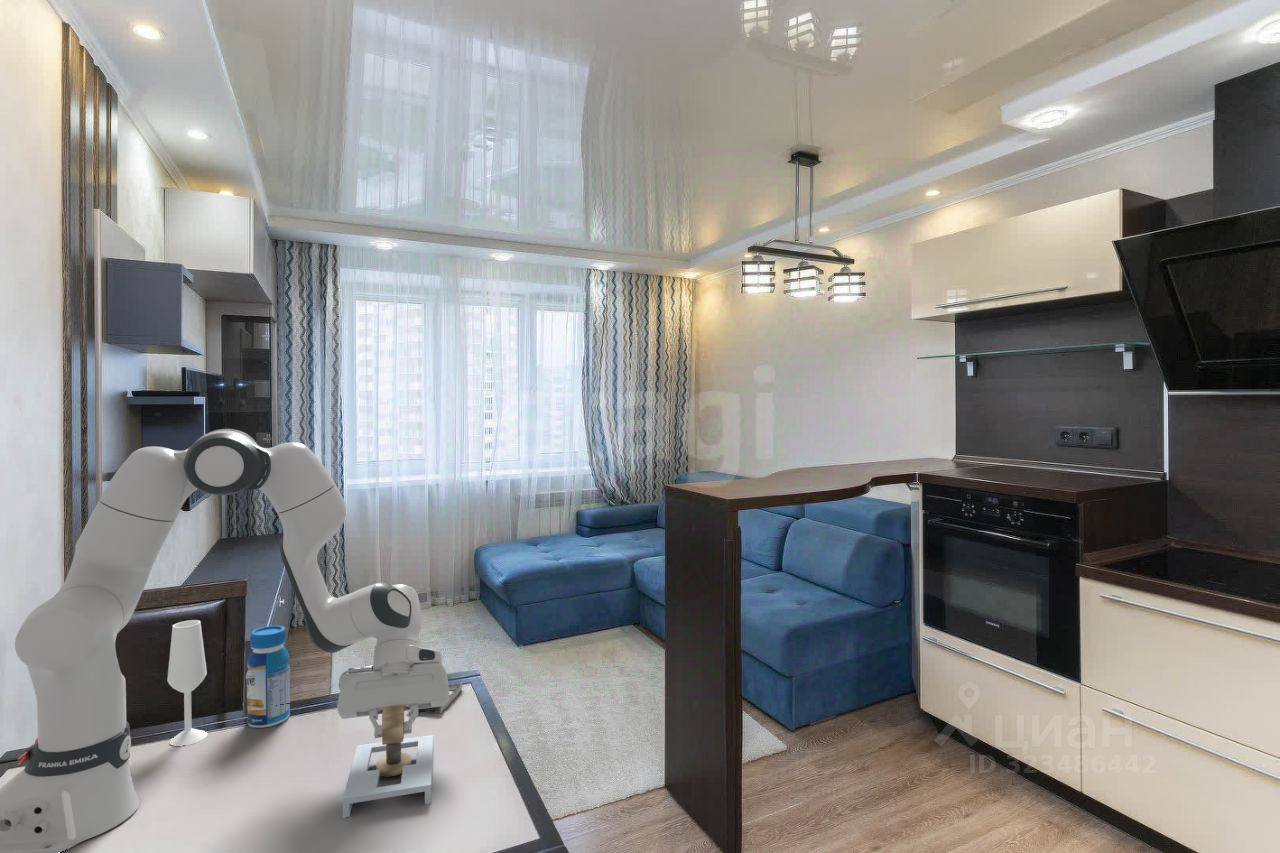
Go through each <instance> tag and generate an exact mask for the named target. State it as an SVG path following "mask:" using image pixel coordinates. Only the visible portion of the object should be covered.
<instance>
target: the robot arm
mask: <svg viewBox="0 0 1280 853" xmlns="http://www.w3.org/2000/svg"><path fill="white" fill-rule="evenodd" d="M197 490H199V491H201V492H203V493H205V494H208V495H214V496H228V495H235V494H239V493H244V492H250V491H256V490H260V491H261V492H262V493H263V494H264V495H265V496H266V498H267V499H268V500H269V502H270V504H271V506H272V507H273V509H274V510H275V512H276V513H277V516H278V517H279V520H280V523H281V526H282V531H283V537H282V538H281V539H280V542H279V551H280V556H281V560H282V562H283V566H284V569H285V571H286V574H287V576H288V578H289V581H290V583H291V586H292V588H293V590H294V593H295V596H296V598H297V601H298V603H299V605H300V609H301V611H302V613H303V617H304V621H305V626H306V632H307V635H308V638H309V640H310V641H311V643H312V644H313V645H314V646H315V647H316V648H318V649H320V650H321V651H324V652H326V653H330V654H333V653H337V652H340V651H341V650H344V649H346V648H348V647H350V646H352V645H354V644H356V643H358V642H361V641H364V640H367V639H370V638H372V637H373V638H375V639H376V642H375V645H374V652H373V662H372V665H367V666H361V667H350V668H348V670H345V671H343V673H341V675H340V676H339V679H338V689H339V695H338V698H337V699H338V700H337V704H336V710H337V714H338V716H339V717H340V718H341V719H343V720H345V719H353V718H359V717H360V718H361V717H369V721H370V724H371V725H372V726H373V729H374V734H373V735H374V739H379V738H382V724H379V723H378V722H377V720H378V719H379V715H382V713H383V708H384V707H390V706H398V705H404V712H408V711H410V717H409V719H408V720H406V721H404V723H403V726H404V728H403V734H404V735H407V734H412V733H413V724H414V723H415V721H416V719H417V717H418V715H419V713H418V709H424V708H432V707H439V706H445V705H446V704H447V703H448V701H449V695H450V690H449V687H448V685H449V680H448V674H447V670H446V667H445V666H444V665H443V656H442V653H441V651H439V650H437V649H431V648H425V647H423V646H421V644H420V643H421V642H420V641H419V640H420V638H419V636H420V635H419V634H420V631H421V626H422V625H421V622H422V618H421V617H422V616H421V615H422V614H421V612H422V611H421V603H420V600H419V595H418V592H417V591H416V590H415V589H414V587H412V586H411V585H410V586H409V585H406V584H401V583H400V584H399V583H397V584H392V585H391V584H389V583H387V582H377V583H373V584H370V585H367V586H365V587H361V588H359V589H357V590H355V591H353V592H351V593H348V594H345V595H343V596H340V597H336V596H335V597H334V596H332V595H331V594H330V592H329V590H328V587H327V585H326V582H325V579H324V576H323V574H322V572H321V569H320V567H319V564H318V556H319V552H320V550H321V549H322V548H323V547H324V546H325V545H326V544H327V543H328V542H329V541H330V540H331V539H332V538H333V537H334V536H335V535H336V534H337V532H338V531H339V530H340V529H341V528H342V526H343V524H344V521H345V519H346V514H347V505H346V501H345V499H344V497H343V495H342V493H341V491H340V490H339V487H338V486H337V484H336V482H335V481H334V479H333V477H332V476H331V474H330V473H329V471H328V470H327V468H326V467H325V465H324V464H323V463H322V461H321V460H320V459H319V458H318V457H317V455H316V454H315V453H314V452H313V451H312V449H311V448H309V447H308V446H307V445H306V444H304V443H301V442H297V441H292V442H291V441H290V442H283V443H280V444H277V445H275V446H273V447H262V446H260V445H259V443H258V442H257V440H256V439H255V438H254V437H253V436H251V435H250V434H249V433H247V432H245V431H243V430H240V429H235V428H222V429H215V430H212V431H209V432H208V433H205V434H203V435H202V436H201V437H199V438H198V439H197V440H195V441H194V443H192V444H190V445H188V446H187V447H186V448H184V449H183V450H176V449H171V448H168V447H164V446H144V447H142V448H141V447H140V448H138V449H136V450H135V451H133V452H131V454H130V455H129V456H128V458H126V460H125V461H124V462H122V464H121V466H120V467H119V468H118V470H117V471H116V472H115V474H114V475H113V477H111V479H110V480H109V482H108V484H107V485H106V487H105V489H104V491H103V492H102V494H101V496H100V498H99V499H98V501H97V504H96V506H95V507H94V509H93V511H92V512H91V514H90V517H89V519H88V520H87V522H86V523H85V524H86V525H85V526H84V528H83V530H82V532H81V533H80V535H79V538H78V540H77V542H76V543H75V547H74V548H75V551H74V554H73V559H72V560H71V561H72V562H71V565H70V568H69V571H68V573H67V576H66V578H65V581H64V583H63V584H62V586H61V587H60V589H59V590H58V591H57V592H56V594H55V595H54V596H53V597H51V598H49V599H48V600H46V601H44V603H42V604H40V605H39V606H37V607H35V609H33V610H32V611H31V612H30V613H29V614H28V616H27V617H26V619H25V620H24V622H23V623H22V624H21V625H20V628H19V630H18V631H17V633H16V636H15V641H14V649H15V652H16V654H17V657H18V659H19V660H20V661H21V662H22V663H23V664H25V665H26V666H27V669H28V673H29V676H30V679H31V683H32V686H33V690H34V693H35V700H36V708H37V709H36V710H37V738H36V739H35V741H34V743H33V744H32V745H30V746H29V747H28V748H26V749H25V752H24V753H23V754H22V755H20V756H19V757H18V758H17V761H19V762H18V763H17V766H20V765H22V764H23V763H25V767H24V768H23V769H22V770H21V771H19V772H18V773H17V774H16V775H14V776H13V777H12V778H11V779H9V780H8V781H6V783H4V784H3V785H2V786H0V853H58V852H62V851H64V852H65V850H66V849H67V850H69V849H71V848H72V847H74V846H76V845H78V844H81V843H83V842H84V841H86V840H90V839H91V838H94V837H97V836H99V835H101V834H103V833H105V832H108V831H109V830H111V829H113V828H115V827H116V826H118V825H120V824H121V823H124V822H125V821H126V820H127V819H128V818H130V817H131V816H132V815H133V814H134V813H135V812H136V811H137V810H138V808H139V806H140V803H141V800H140V797H139V796H138V793H137V790H136V788H135V784H134V780H133V777H132V772H131V767H130V766H131V765H130V757H131V748H132V739H131V730H130V722H128V721H127V687H126V686H127V684H126V683H127V682H126V677H125V675H123V673H122V671H121V668H120V664H119V659H118V657H117V651H116V640H117V635H118V633H120V632H121V630H122V629H124V628H125V627H126V625H127V624H128V623H129V622H130V620H131V618H133V614H134V612H135V611H136V608H137V606H138V603H139V602H140V599H141V596H142V594H143V592H144V590H145V587H146V584H147V582H148V580H149V576H150V574H151V571H152V568H153V566H154V564H155V562H156V559H157V557H158V555H159V554H160V552H161V549H162V547H163V545H164V543H165V541H166V540H167V537H168V535H169V533H170V531H171V530H172V528H173V526H174V524H175V522H176V519H177V517H178V516H179V514H180V512H181V509H182V507H183V505H184V504H185V502H186V500H187V499H188V497H190V495H192V494H193V493H194V492H195V491H197ZM67 850H66V851H67ZM62 853H63V852H62Z"/></svg>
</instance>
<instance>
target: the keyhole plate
mask: <svg viewBox="0 0 1280 853" xmlns="http://www.w3.org/2000/svg"><path fill="white" fill-rule="evenodd" d="M414 747H417V752H416V761H415V763H411V765H405V766H403V771H402V774H401V778H400V779H401V781H400V783H396V784H390V785H386V786H385V785H383V786H378V785H379V780H380V776H381V775H380V769H378V770H377V769H372V770H369V767H370V766H369V765H370V762H371V757H372V753H373V754H374V753H379V752H380V753H381V752H386V744H385V745H382V741H378V742H372V743H371V742H370V743H365V744H358V745H357V746H356V750H355V753H354V756H353V759H352V763H351V764H352V765H351V768H350V771H349V775H348V778H347V782H346V785H345V789H344V793H343V797H342V819H344V818H350V816H351V812H352V808H353V804H356V803H362V802H369V801H374V800H381V799H386V798H387V799H389V798H393V797H399V796H404V795H405V796H406V795H411V794H417V793H423V792H424V805H427V804H431V803H432V791H433V790H432V788H433V787H432V786H433V768H434V766H433V764H434V763H433V762H434V735H433V734H429V735H422V736H415V737H408V738H404V739H403V742H401V750H402V749H407V748H414Z"/></svg>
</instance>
